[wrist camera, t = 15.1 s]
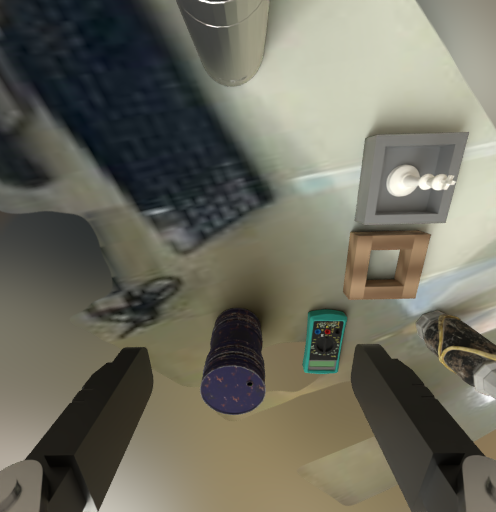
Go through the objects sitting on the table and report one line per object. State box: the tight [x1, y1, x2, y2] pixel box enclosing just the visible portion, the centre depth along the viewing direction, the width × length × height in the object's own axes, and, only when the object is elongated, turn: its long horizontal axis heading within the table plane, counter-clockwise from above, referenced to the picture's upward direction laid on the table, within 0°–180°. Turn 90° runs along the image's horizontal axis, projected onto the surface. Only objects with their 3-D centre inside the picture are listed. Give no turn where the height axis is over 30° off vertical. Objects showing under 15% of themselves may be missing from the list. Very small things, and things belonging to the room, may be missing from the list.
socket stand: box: [343, 230, 431, 300], centre depth 41 cm, size 12×12×3 cm
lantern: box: [416, 310, 496, 399], centre depth 35 cm, size 9×8×25 cm
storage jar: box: [200, 308, 265, 415], centre depth 41 cm, size 10×10×15 cm
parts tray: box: [355, 132, 469, 225], centre depth 36 cm, size 13×13×4 cm
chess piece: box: [386, 165, 456, 197], centre depth 32 cm, size 5×5×10 cm
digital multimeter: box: [303, 309, 347, 374], centre depth 48 cm, size 7×15×3 cm, turn 179°
